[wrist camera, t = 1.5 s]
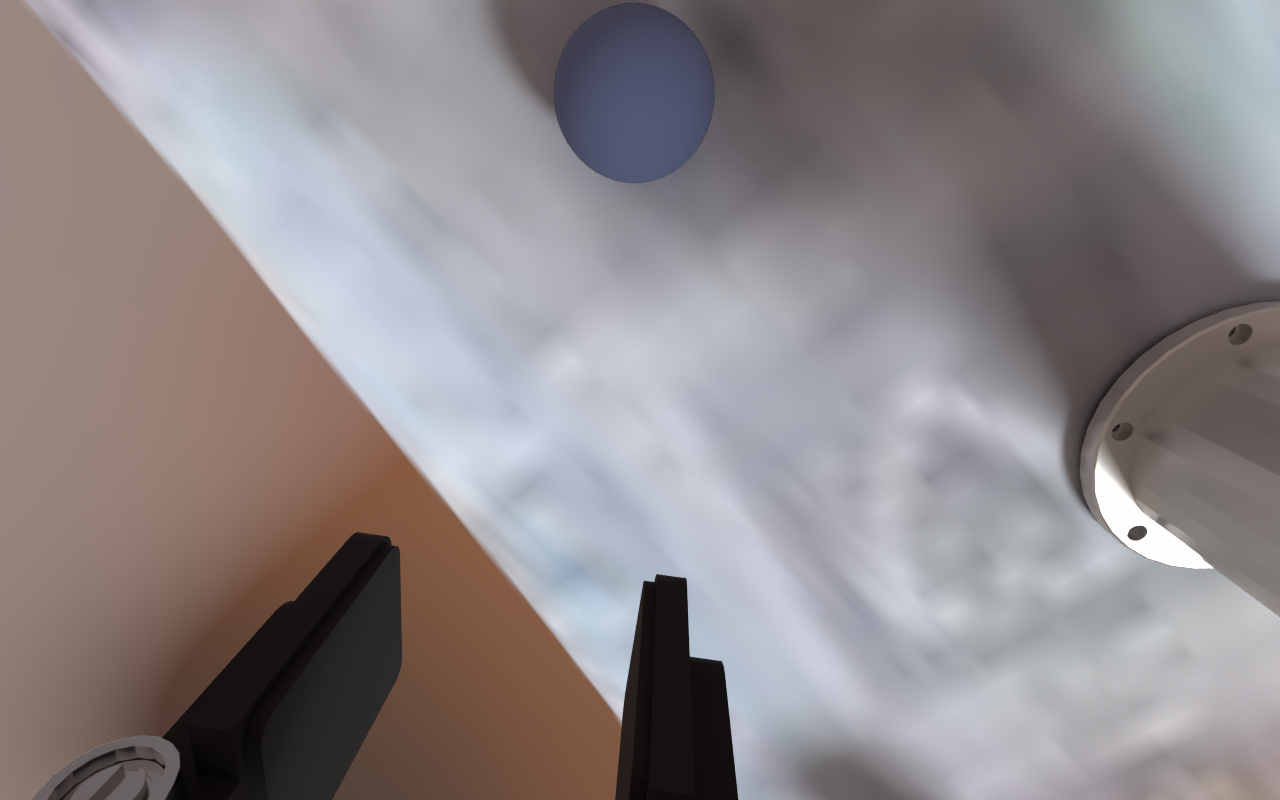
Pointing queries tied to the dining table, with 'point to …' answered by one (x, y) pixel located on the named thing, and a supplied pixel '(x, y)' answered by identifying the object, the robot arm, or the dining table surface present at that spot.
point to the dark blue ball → (634, 92)
